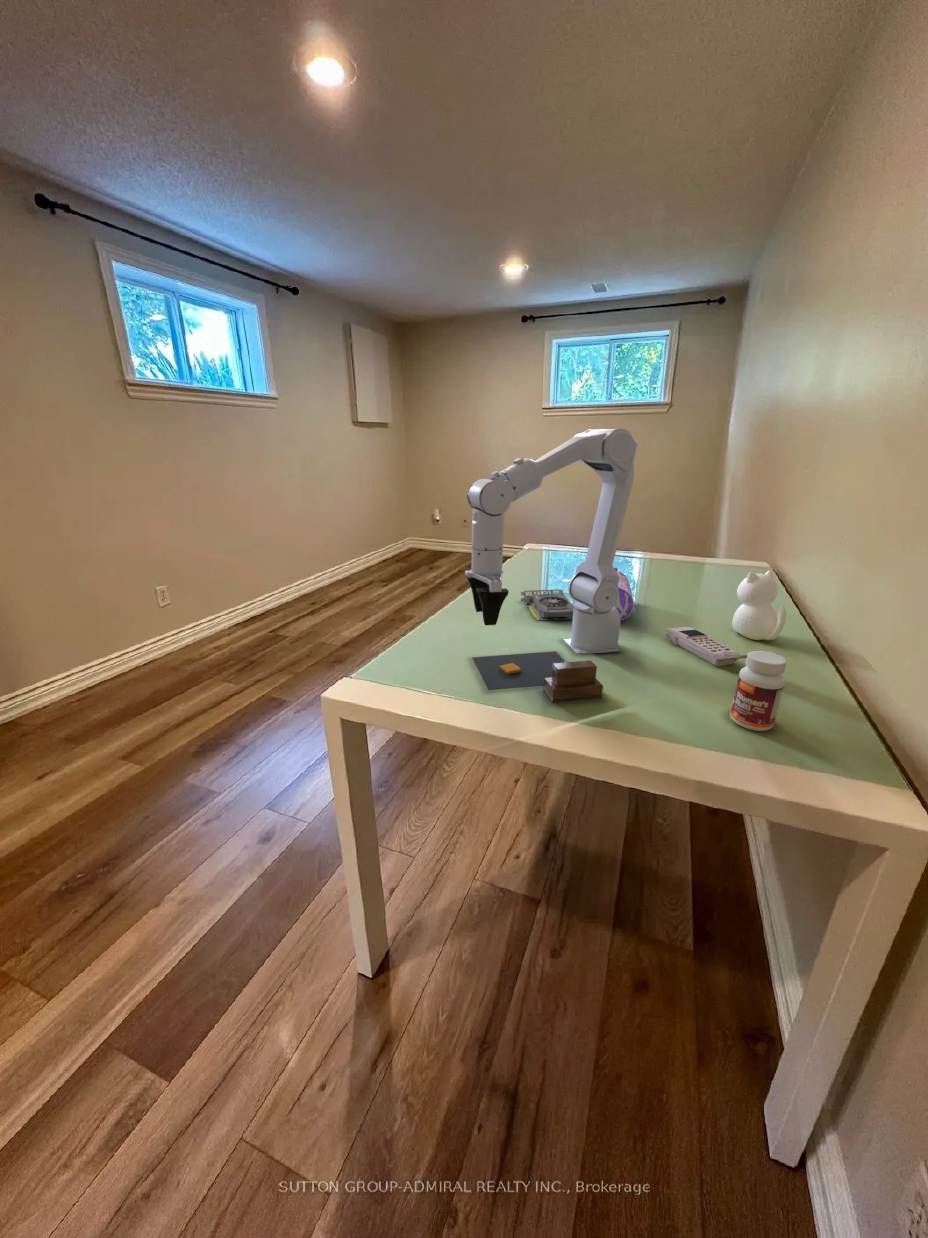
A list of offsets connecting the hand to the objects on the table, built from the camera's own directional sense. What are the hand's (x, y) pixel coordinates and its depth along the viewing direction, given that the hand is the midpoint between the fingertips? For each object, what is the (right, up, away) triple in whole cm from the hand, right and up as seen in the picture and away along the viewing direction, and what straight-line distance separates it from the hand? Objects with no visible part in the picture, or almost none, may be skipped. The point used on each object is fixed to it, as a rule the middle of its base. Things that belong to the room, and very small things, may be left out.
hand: (485, 617), depth 94 cm
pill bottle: (+42, -17, -16) cm, 48 cm away
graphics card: (+18, +2, +34) cm, 39 cm away
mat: (+8, -10, +1) cm, 13 cm away
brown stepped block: (+15, -14, -8) cm, 22 cm away
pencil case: (+35, +2, +36) cm, 50 cm away
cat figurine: (+63, -4, +19) cm, 66 cm away
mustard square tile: (+5, -10, 0) cm, 11 cm away
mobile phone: (+47, -8, +8) cm, 48 cm away
